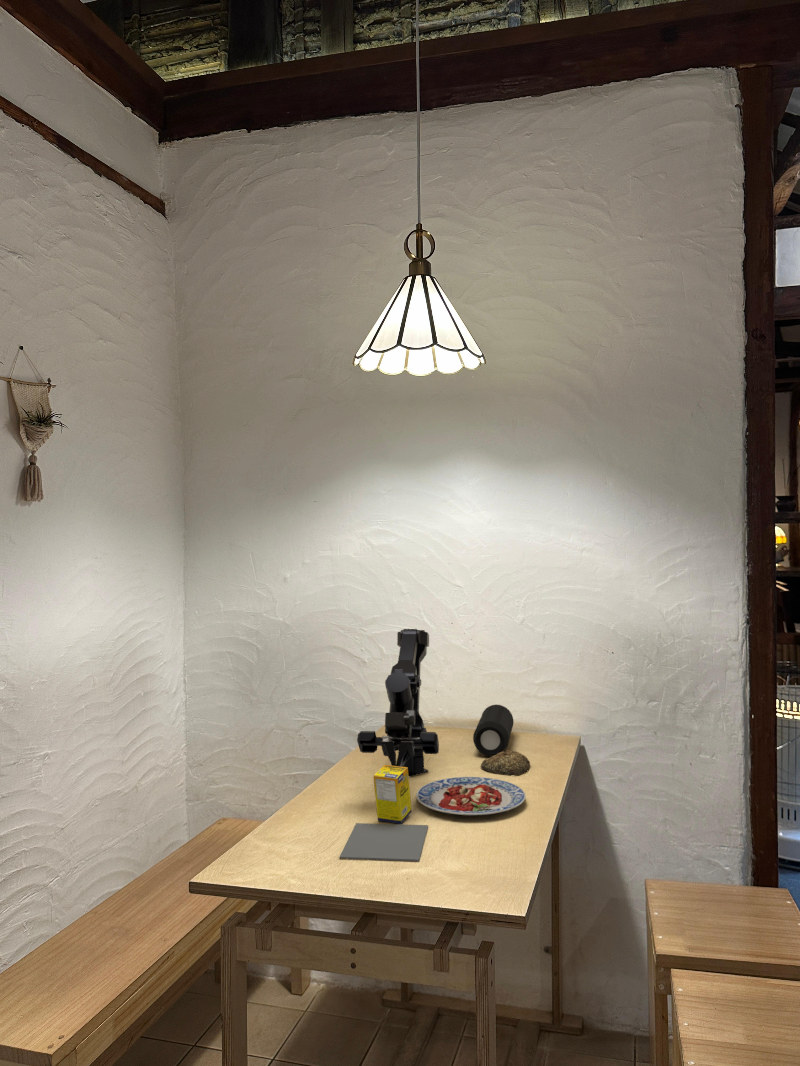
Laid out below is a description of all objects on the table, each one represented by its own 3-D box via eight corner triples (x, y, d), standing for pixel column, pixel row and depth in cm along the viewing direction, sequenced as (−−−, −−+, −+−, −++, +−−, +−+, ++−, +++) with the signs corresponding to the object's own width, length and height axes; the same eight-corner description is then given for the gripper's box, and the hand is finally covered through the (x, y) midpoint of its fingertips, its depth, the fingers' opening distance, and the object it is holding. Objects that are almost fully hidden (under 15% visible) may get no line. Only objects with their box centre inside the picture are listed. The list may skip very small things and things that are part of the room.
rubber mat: (356, 824, 182) (356, 823, 182) (428, 826, 180) (428, 825, 180) (339, 858, 164) (339, 856, 164) (419, 861, 162) (419, 859, 162)
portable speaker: (482, 734, 255) (481, 702, 255) (514, 735, 253) (513, 703, 253) (472, 758, 230) (471, 723, 230) (508, 760, 228) (507, 724, 228)
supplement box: (412, 812, 187) (408, 766, 185) (401, 824, 182) (397, 778, 180) (388, 808, 190) (384, 763, 188) (377, 821, 184) (373, 775, 183)
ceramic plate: (416, 785, 208) (416, 774, 208) (519, 784, 208) (519, 772, 208) (415, 824, 183) (415, 810, 183) (532, 822, 182) (532, 809, 182)
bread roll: (516, 779, 212) (515, 760, 212) (475, 771, 219) (474, 752, 219) (539, 766, 222) (539, 748, 222) (499, 759, 230) (499, 741, 229)
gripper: (357, 697, 194) (349, 757, 183) (436, 697, 192) (433, 758, 181) (364, 722, 202) (356, 781, 191) (440, 723, 199) (437, 783, 189)
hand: (395, 775), depth 188 cm, fingers closed
